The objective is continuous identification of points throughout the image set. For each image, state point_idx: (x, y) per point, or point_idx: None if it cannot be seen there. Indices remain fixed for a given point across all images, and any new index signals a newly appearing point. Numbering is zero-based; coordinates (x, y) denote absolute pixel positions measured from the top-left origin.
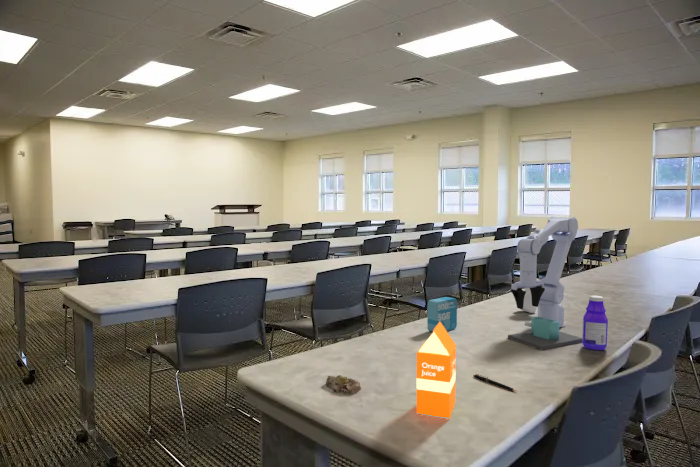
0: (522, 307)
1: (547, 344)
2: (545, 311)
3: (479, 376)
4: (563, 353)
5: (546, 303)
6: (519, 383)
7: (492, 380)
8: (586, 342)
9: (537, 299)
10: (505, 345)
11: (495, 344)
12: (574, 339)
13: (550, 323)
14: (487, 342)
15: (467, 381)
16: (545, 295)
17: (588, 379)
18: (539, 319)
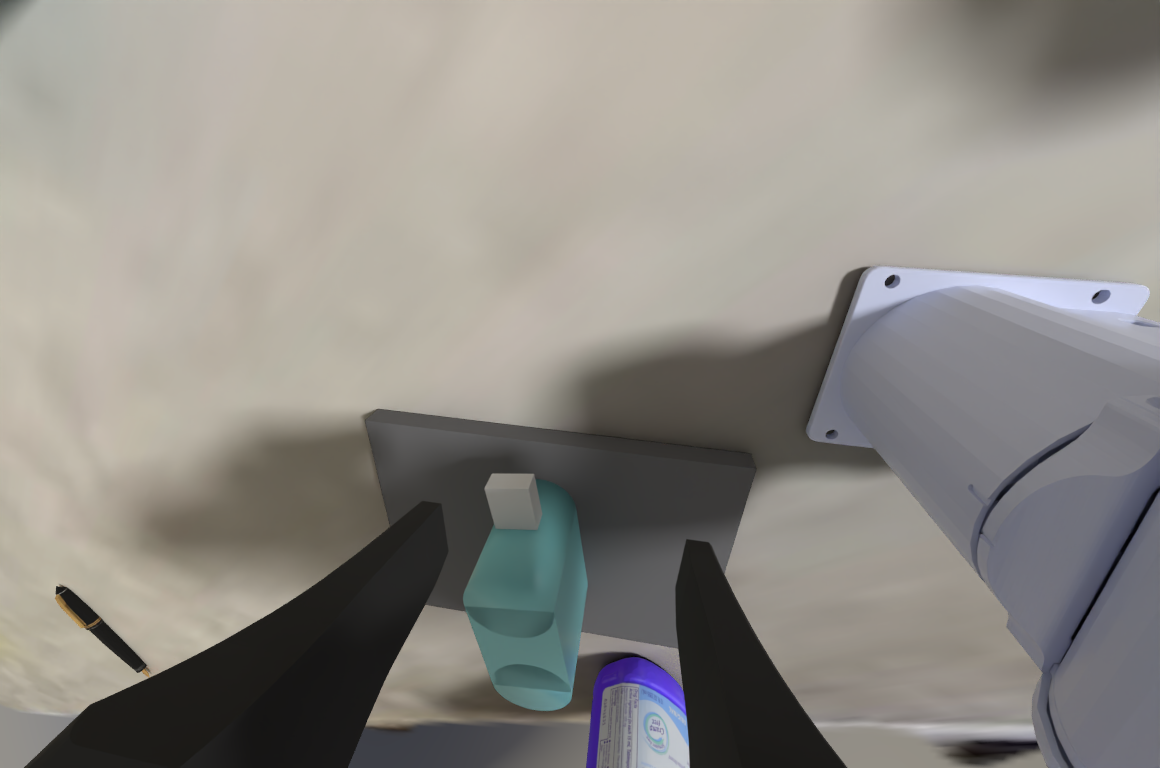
0: (433, 569)
1: (455, 603)
2: (918, 490)
3: (65, 608)
4: (470, 639)
5: (1005, 579)
6: (179, 657)
7: (98, 634)
8: (592, 702)
9: (687, 700)
10: (297, 474)
11: (254, 439)
12: (642, 636)
13: (496, 681)
14: (225, 396)
15: (40, 590)
16: (1153, 708)
17: (368, 726)
18: (490, 630)
